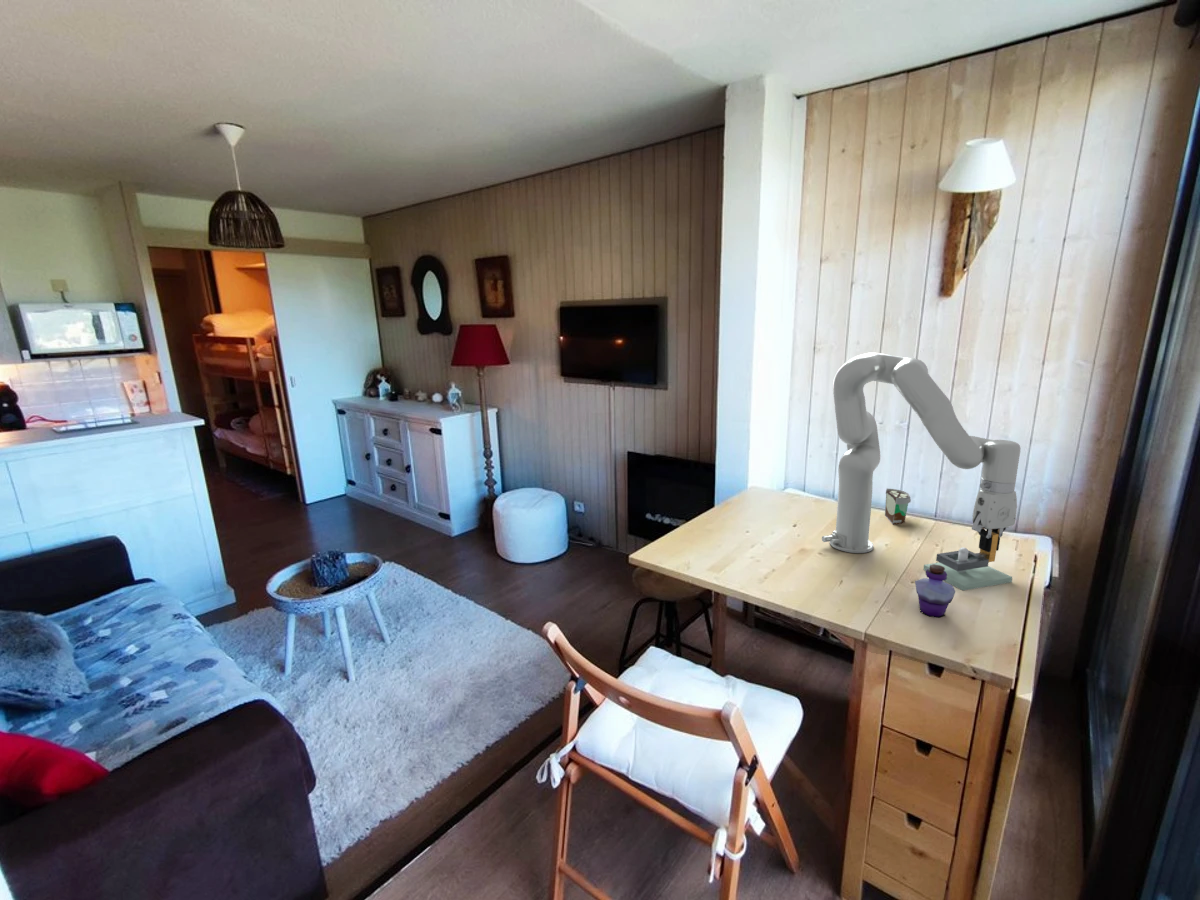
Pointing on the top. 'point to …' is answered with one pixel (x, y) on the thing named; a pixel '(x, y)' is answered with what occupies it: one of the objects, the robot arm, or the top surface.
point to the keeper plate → (972, 575)
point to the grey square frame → (970, 557)
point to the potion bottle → (934, 592)
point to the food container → (896, 506)
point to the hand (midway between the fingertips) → (988, 549)
